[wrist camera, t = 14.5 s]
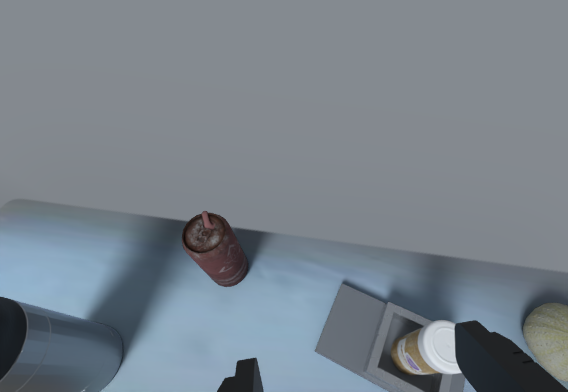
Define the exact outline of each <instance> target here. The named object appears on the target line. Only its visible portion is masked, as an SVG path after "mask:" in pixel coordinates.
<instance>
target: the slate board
mask: <svg viewBox="0 0 568 392" xmlns="http://www.w3.org/2000/svg"><path fill="white" fill-rule="evenodd" d="M385 304H386V303H384V302H382V301H380V300H377V299H375V298H373V297H371V296H368V295H366V294H364V293H362V292H360V291H357V290H355V289H353V288H351V287H349V286H346V285H344V284H341V286H340V289H339V291H338V294H337V296H336V299H335V301H334V304H333V306H332V309H331V311H330V314H329V316H328V319H327V321H326V324H325V326H324V329H323V331H322V334H321V337H320V339H319V342H318V344H317V347H316V349H315V352H317V353H319V354H320V355H322V356H324V357H326V358H328V359H330V360H331V361H333V362H335V363H337V364H339V365H341V366H343V367H344V368H346V369H348V370H350V371H352V372H354V373H356V374H357V375H359V376H361V377H363V378H365V379H367V380H369V381H370V382H372V383H374V384H376V385H378V386H380V387H382V388H383V389H385V390H387V391H389V392H399V391H398V390H396V389H394V388H392V387H390V386H388V385H386V384H384V383H383V382H381V381H379V380H377V379H375V378H373V377H371V376H369V375H368V374H366V373H364V372H363V370H364V367H365V364H366V361H367V357H368V354H369V351H370V348H371V345H372V342H373V339H374V335H375V332H376V329H377V326H378V323H379V320H380V317H381V313H382V310H383V307H384V305H385ZM415 330H417V329H415V328H413V327H411V326H409V325H407V324H404V323H402V322H400V321H398V320H396V319H394V318H392V320H391V323H390V326H389V330H388V333H387V336H386V340H385V343H384V346H383V350H382V353H381V356H380V360H379V363H378V366H377V367H378V368H380V369H382V370H384V371H386V372H388V373H390V374H392V375H394V376H396V377H397V378H399V379H401V380H403V381H405V382H407V383H409V384H411V385H413V386H415V387H417V388H419V389H420V390H422V391H424V392H430V390H431V385H432V381H433V376H434V374H423V375H419V374H418V375H407V374H405V373H403V372H401V371H400V370H399V369H397V367H396V366H395V364H394V362H393V360H392V357H391V348H392V344H393V342H394V341H395V340H396V339H398V338H400V337H404V336H405V335H407V334H409V333H411V332H413V331H415ZM464 383H465V376H464V375H463V374H462V373H458V374H452V379H451V385H450V390H449V392H463V388H464Z"/></svg>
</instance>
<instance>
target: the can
mask: <svg viewBox="0 0 568 392" xmlns="http://www.w3.org/2000/svg"><path fill="white" fill-rule="evenodd" d="M182 244H183V248H184V249H185V251H186V253H187V254H188V255H189V256H190V257H191V258H192V259H193V260H194V261H195V262H196V263H197V264H198V265H199V266H200V267H201V268H202V269H203V270H204V271H205V272H206V273H207V274H208V275H209V276H210V277H211V278H212V280H213V281H214V282H216V283H217V284H218V285H221V286H224V287H231V286H234V285H236V284H238V283H239V282H241V281H242V280H243V279H244V277H245V276H246V274H247V271H248V261H247V258H246V256H245V254H244V252H243V250H242V248H241V246H240V244H239V243H238V241H237V239H236V237H235V235H234V233H233V231H232V229H231V227H230V225H229V224H228V222H227V221H226V219H224V218H223V217H221V216H220V215H216V214H213V213H208V212H207V211H203V213H202V214H199V215H197V216H195V217H193V218H192V219H191V220H190V221H189V222H188V223H187V224H186V226H185V228H184V229H183V234H182Z"/></svg>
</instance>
